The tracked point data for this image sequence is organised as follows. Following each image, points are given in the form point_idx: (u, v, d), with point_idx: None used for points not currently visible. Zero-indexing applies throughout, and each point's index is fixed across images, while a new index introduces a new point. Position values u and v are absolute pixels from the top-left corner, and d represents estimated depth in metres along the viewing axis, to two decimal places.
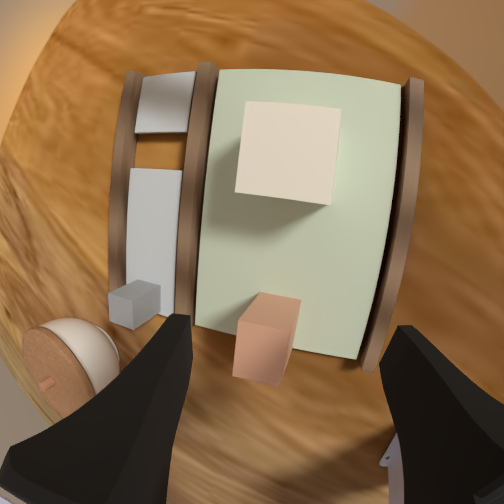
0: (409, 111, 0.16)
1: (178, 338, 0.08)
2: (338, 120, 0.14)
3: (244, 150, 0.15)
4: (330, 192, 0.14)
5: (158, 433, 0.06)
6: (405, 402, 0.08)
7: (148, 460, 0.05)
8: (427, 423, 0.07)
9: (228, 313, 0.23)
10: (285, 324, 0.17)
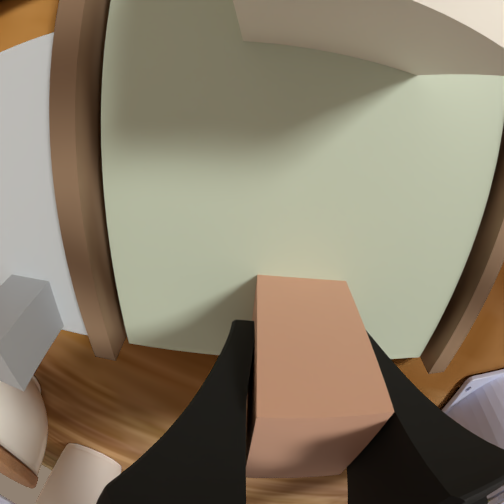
0: None
1: (253, 346, 0.08)
2: None
3: None
4: None
5: None
6: None
7: None
8: None
9: (189, 320, 0.11)
10: (371, 385, 0.06)
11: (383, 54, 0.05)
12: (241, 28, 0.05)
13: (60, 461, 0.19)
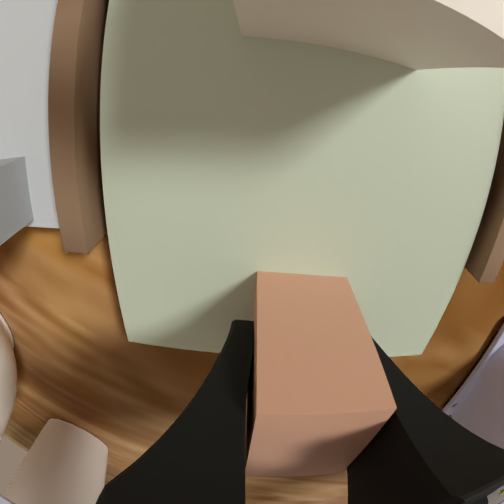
0: None
1: (252, 346, 0.08)
2: None
3: None
4: None
5: None
6: None
7: None
8: None
9: (188, 318, 0.11)
10: (372, 381, 0.06)
11: (382, 48, 0.05)
12: (240, 22, 0.05)
13: (38, 438, 0.16)
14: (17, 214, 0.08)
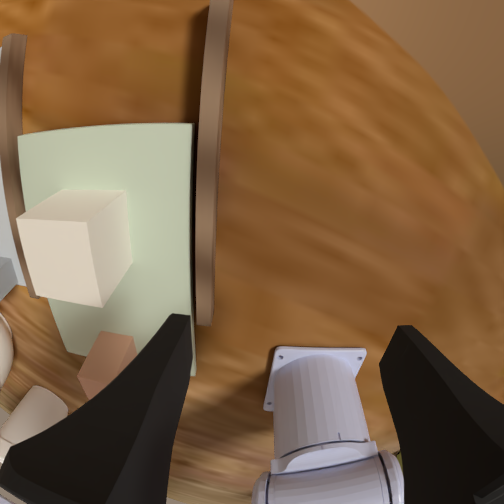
0: (207, 31, 0.12)
1: (178, 339, 0.08)
2: (87, 234, 0.13)
3: (29, 263, 0.14)
4: (99, 298, 0.15)
5: (158, 433, 0.06)
6: (405, 402, 0.08)
7: (148, 460, 0.05)
8: (427, 423, 0.07)
9: (85, 344, 0.23)
10: (110, 375, 0.19)
11: None
12: None
13: (24, 397, 0.28)
14: (11, 282, 0.20)
